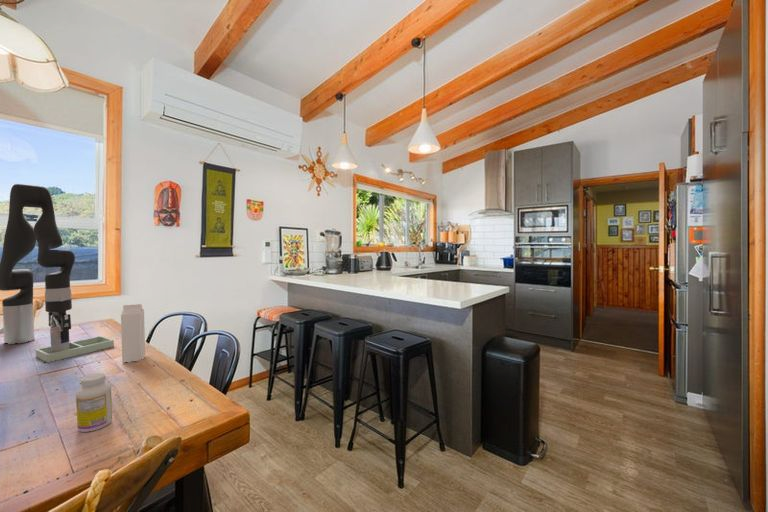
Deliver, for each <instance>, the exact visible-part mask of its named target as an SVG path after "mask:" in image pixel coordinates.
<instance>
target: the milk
mask: <svg viewBox="0 0 768 512" xmlns="http://www.w3.org/2000/svg"><path fill="white" fill-rule="evenodd" d="M122 307H123V308H122V311H121V313H120V327H121V329H120V331H121V332H120V333H121V358H122V360H121V363H122V364H126V363H125V362H128V363H132V362H131V361H137V362H139V361H138V360H141V359H142V358H143V357H144V356H145V357H146V336H145V335H146V334H145V333H146V332H145V329H146V328H145V310H144V308H143V305H142V304H141V303H140V304H137V303H135V304H125V305H123V306H122ZM145 357H144V358H145ZM144 358H143V359H144ZM143 359H142V360H143ZM142 360H141V361H142Z"/></svg>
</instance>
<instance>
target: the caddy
mask: <svg viewBox="0 0 768 512" xmlns="http://www.w3.org/2000/svg"><path fill="white" fill-rule="evenodd" d="M69 343H70V349H69V350H65V351H60V352H56V353H51V345H50V346H46V347H41V348H38V349H37V348H36V349H35V357H36V358H38V359H40V360H42V361H44V362H46V363H51V361H52V362H54V361H55V360H56V361H59V360H64V359H67V358H72V357H76V356H81V355H85V354H89V353H93V352H98V351H101V349H102V350H106V349H110V348H113V346H114V347H115V340H114V339H111V338H109V337H106V336H103V335H99V336H94V337H89V338H85V339H80V340H75V341H71V342H70V341H69ZM109 347H110V348H109ZM97 350H98V351H97Z"/></svg>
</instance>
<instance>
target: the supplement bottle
mask: <svg viewBox="0 0 768 512" xmlns="http://www.w3.org/2000/svg"><path fill="white" fill-rule="evenodd" d="M105 381H106V374H105V373H102V372H101V373H100V372H99V373H93V374H88V375H86V376H84V377H82V378H80V385H81V386H82V387H80V388H79V389H78V390H77V391H76V393H75V401H76V404H75V405H76V420H77V421H76V422H77V425H76V426H77V430H78V431H79V432H82V433H89V431H90V432H95V431H98V430H101V429H103V428H105V427H106V426H108V425H109V424H110V423H111V422H112V421H113V406H112V405H113V404H112V403H113V402H112V386H111V384H110V383H109V382H105Z"/></svg>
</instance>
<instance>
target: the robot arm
mask: <svg viewBox="0 0 768 512" xmlns="http://www.w3.org/2000/svg"><path fill="white" fill-rule="evenodd" d="M53 202H54V201H53V197H52V194H51V192H50V190H49V189H48V188H47V187H45V186H40V185H33V184H22V183H15V184H13V185H12V186H11V189H10V193H9V203H8V205H9V207H8V219H7V224H6V229H5V232H4V237H3V245H2V246H3V247H2V253H1V259H0V291H2V292H3V291H7V292H8V291H18V290H19V292H17V293H15V294H14V295H12V296H9V297H6V298H3V299H2V302H1V304H2V305H1V306H2V307H1V308H2V320H3V341H4V342H3V343H8V344H7V345H16V344H15V343H18V344H24V343H28V341H29V342H32V341H34V340H35V339H36V338H35V319H34V317H35V316H34V315H35V314H34V274H33V273H34V272H33V271H32V270H31V269H27V268H22V269H21V268H19V269H14V268H15V267H16V265H17V264H19V262H20V261H22V260H23V259H24V258H25V257H27V256H28V255H30V253H32V252H33V251H34V249H35V247H36V244H37V248H38V249H37V250H38V252H37V258H36V259H37V264H38V265H39V266H41V267H43V268H45V269H46V268H60V269H59V270H58V271H56V272H52V273H48V274H46V275H45V277H44V283H45V284H44V285H45V286H44V288H45V289H44V290H45V291H44V305H45V312H47V313H48V326H49V327H50V328H51V327H53V326H57V327H59V329H60V338H61V340H62V341H63V340H68V339H69V340H70V333H69V334H68V330H69V331H70V330H71V329H72V320H71V319H72V318H71V314H70V313H69V314H67V311H69V310H72V308H73V303H72V289H71V279H70V278H71V273H72V269H73V267H74V264H75V260H76V256H75V253H74V252H73V251H72V250H70V249H57V248H59V247H61V246H62V245H63V239H62V236H61V234H60V231H59V228H58V226H57V222H56V216H55V214H56V213H55V208H54V203H53ZM24 208H40V209H41V210H42V211H41V212H42V213H41V215H40V216H39V218H38V219H37V220H36V222H35V224H34V227H33V225H32V224H31V223H30V222H29V220H27V218H26V216H25V214H24ZM64 326H66V327H64Z"/></svg>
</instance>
